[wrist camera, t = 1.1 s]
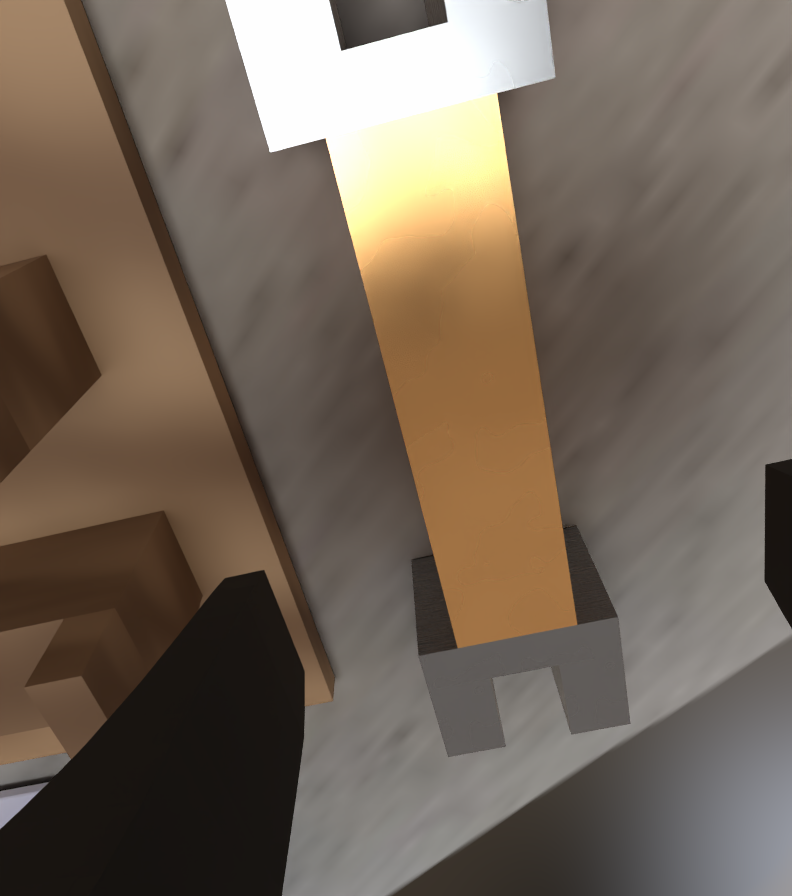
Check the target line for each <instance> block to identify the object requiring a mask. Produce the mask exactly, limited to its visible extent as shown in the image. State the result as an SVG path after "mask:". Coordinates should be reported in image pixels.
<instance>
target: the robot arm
mask: <svg viewBox="0 0 792 896" xmlns="http://www.w3.org/2000/svg"><path fill="white" fill-rule="evenodd" d="M765 583H766V584H767V586H768V588H769V590H770V591H771V593H772V595H773V597H774V599H775V600H776V602H777V604H778V606H779V607H780V609H781V611H782V613H783V615H784V616H785V618H786V620H787V621H788V623H789V624H790V626H791V628H792V459H790V460H785V461H781V462H776V463H771V464H766V467H765ZM304 717H305V670H304V668H303V665H302V663H301V660H300V658H299V655H298V653H297V650H296V648H295V645H294V643H293V640H292V638H291V635H290V633H289V630H288V628H287V625H286V623H285V620H284V618H283V615H282V613H281V610H280V608H279V605H278V603H277V600H276V598H275V595H274V593H273V590H272V588H271V585H270V583H269V580H268V578H267V575H266V573H265V570H261V571H256V572H251V573H246V574H242V575H237V576H232V577H227V578H224V580H223V581H222V582H221V583H220V584H219V585H218V586H217V587H216V589H215V590H214V591H213V592H212V593H211V595H210V596H209V597H208V598H207V600H206V601H205V602H204V603H203V605H202V606H201V607H200V608H199V610H198V611H197V612H196V613H195V615H194V616H193V617H192V619H191V620H190V621H189V622H188V624H187V625H186V626H185V627H184V629H183V630H182V631H181V632H180V634H179V635H178V636H177V638H176V639H175V640H174V641H173V642H172V644H171V645H170V646H169V647H168V649H167V650H166V651H165V652H164V654H163V655H162V656H161V657H160V659H159V660H158V661H157V662H156V664H155V665H154V666H153V667H152V668H151V670H150V671H149V672H148V673H147V675H146V676H145V677H144V678H143V680H142V681H141V682H140V683H139V684H138V685H137V687H136V688H135V689H134V690H133V691H132V692H131V693H130V695H129V696H128V697H127V698H126V699H125V700H124V701H123V703H122V704H121V705H120V706H119V707H118V708H117V709H116V710H115V712H114V713H113V714H112V715H111V716H110V717H109V718H108V720H107V721H106V722H105V723H104V724H103V725H102V726H101V728H100V729H99V730H98V731H97V732H96V733H95V734H94V736H93V737H92V738H91V739H90V740H89V741H88V742H87V743H86V744H85V746H84V747H83V748H82V749H81V750H80V751H79V752H78V753H77V754H76V755H75V756H74V757H73V758H72V759H71V760H70V761H69V762H68V763H67V764H66V765H65V767H64V768H63V769H62V770H61V771H60V772H59V773H58V774H57V775H56V776H55V777H54V778H53V779H52V780H51V781H50V782H46V783H41V784H36V785H31V786H25V787H20V788H15V789H9V790H4V791H0V896H282V890H283V883H284V876H285V869H286V862H287V855H288V848H289V841H290V834H291V827H292V820H293V813H294V806H295V799H296V792H297V785H298V778H299V770H300V763H301V756H302V748H303V740H304Z"/></svg>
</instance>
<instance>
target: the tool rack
mask: <svg viewBox="0 0 792 896" xmlns="http://www.w3.org/2000/svg"><path fill="white" fill-rule="evenodd" d="M261 570H265V573H266V575H267V578H268V580H269V583H270V585H271V588H272V590H273V593H274V595H275V598H276V600H277V603H278V605H279V608H280V610H281V613H282V615H283V618H284V620H285V623H286V625H287V628H288V630H289V633H290V635H291V638H292V640H293V643H294V645H295V648H296V650H297V653H298V655H299V658H300V660H301V663H302V665H303V668H304V670H305V706H310V705H315V704H320V703H326V702H331V701H333V695H334V681H335V677H334V674H333V672H332V669H331V666H330V664H329V661H328V658H327V656H326V653H325V650H324V648H323V645H322V642H321V640H320V637H319V634H318V632H317V629H316V626H315V624H314V621H313V618H312V616H311V613H310V610H309V608H308V605H307V602H306V600H305V597H304V594H303V592H302V589H301V586H300V584H299V581H298V578H297V576H296V573H295V570H294V568H293V565H292V562H291V560H290V557H289V554H288V552H287V549H286V546H285V544H284V541H283V538H282V536H281V533H280V530H279V528H278V525H277V522H276V520H275V517H274V514H273V512H272V509H271V506H270V504H269V501H268V498H267V496H266V493H265V490H264V488H263V485H262V482H261V480H260V477H259V474H258V472H257V469H256V466H255V464H254V461H253V458H252V456H251V453H250V450H249V448H248V445H247V442H246V440H245V437H244V434H243V432H242V429H241V426H240V424H239V421H238V418H237V416H236V413H235V410H234V408H233V405H232V402H231V400H230V397H229V394H228V392H227V389H226V386H225V384H224V381H223V378H222V376H221V373H220V370H219V368H218V365H217V362H216V360H215V357H214V354H213V352H212V349H211V346H210V344H209V341H208V338H207V336H206V333H205V330H204V328H203V325H202V322H201V320H200V317H199V314H198V312H197V309H196V306H195V304H194V301H193V298H192V296H191V293H190V290H189V288H188V285H187V282H186V280H185V277H184V274H183V272H182V269H181V266H180V264H179V261H178V258H177V256H176V253H175V250H174V248H173V245H172V242H171V240H170V237H169V234H168V232H167V229H166V226H165V224H164V221H163V218H162V216H161V213H160V210H159V208H158V205H157V202H156V200H155V197H154V194H153V192H152V189H151V186H150V184H149V181H148V178H147V176H146V173H145V170H144V168H143V165H142V162H141V160H140V157H139V154H138V151H137V149H136V146H135V143H134V141H133V138H132V135H131V133H130V130H129V127H128V125H127V122H126V119H125V117H124V114H123V111H122V109H121V106H120V103H119V101H118V98H117V95H116V93H115V90H114V87H113V85H112V82H111V79H110V77H109V74H108V71H107V69H106V66H105V63H104V61H103V58H102V55H101V53H100V50H99V47H98V45H97V42H96V39H95V37H94V34H93V31H92V29H91V26H90V23H89V21H88V18H87V15H86V13H85V10H84V7H83V5H82V2H81V0H0V765H3V764H8V763H14V762H19V761H24V760H29V759H34V758H40V757H45V756H50V755H55V754H60V753H66V752H67V754H68V755H69V757H70V758H71V759H72V758H73V757H74V756H75V755H76V754H77V753H78V752H79V751H80V750H81V749H82V748H83V747H84V746H85V744H86V743H87V742H88V741H89V740H90V739H91V738H92V737H93V736H94V734H95V733H96V732H97V731H98V730H99V729H100V728H101V726H102V725H103V724H104V723H105V722H106V721H107V720H108V718H109V717H110V716H111V715H112V714H113V713H114V712H115V710H116V709H117V708H118V707H119V706H120V705H121V704H122V703H123V701H124V700H125V699H126V698H127V697H128V696H129V695H130V693H131V692H132V691H133V690H134V689H135V688H136V687H137V685H138V684H139V683H140V682H141V681H142V680H143V678H144V677H145V676H146V675H147V673H148V672H149V671H150V670H151V668H152V667H153V666H154V665H155V664H156V662H157V661H158V660H159V659H160V657H161V656H162V655H163V654H164V652H165V651H166V650H167V649H168V647H169V646H170V645H171V644H172V642H173V641H174V640H175V639H176V638H177V636H178V635H179V634H180V632H181V631H182V630H183V629H184V627H185V626H186V625H187V624H188V622H189V621H190V620H191V619H192V617H193V616H194V615H195V613H196V612H197V611H198V610H199V608H200V607H201V606H202V605H203V603H204V602H205V601H206V600H207V598H208V597H209V596H210V595H211V593H212V592H213V591H214V590H215V589H216V587H217V586H218V585H219V584H220V583H221V582H222V581H223V580H224V578H227V577H232V576H237V575H242V574H246V573H251V572H256V571H261Z"/></svg>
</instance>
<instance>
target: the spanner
mask: <svg viewBox="0 0 792 896" xmlns="http://www.w3.org/2000/svg"><path fill="white" fill-rule="evenodd" d="M424 2H425V7H426V12H427V18H428V23H429V27H428V28H425V29H421V30H417V31H414V32H410V33H406V34H403V35H399V36H395V37H392V38H388V39H384V40H380V41H377V42H373V43H369V44H366V45H362V46H358V47H355V48H351V49H347V48H346V44H345V39H344V35H343V31H342V26H341V22H340V18H339V14H338V9H337V5H336V1H335V0H226V4H227V7H228V10H229V14H230V17H231V21H232V24H233V27H234V31H235V34H236V38H237V41H238V44H239V48H240V51H241V55H242V58H243V61H244V65H245V68H246V72H247V75H248V78H249V82H250V85H251V89H252V92H253V95H254V99H255V102H256V105H257V109H258V112H259V116H260V119H261V122H262V126H263V129H264V133H265V136H266V139H267V143H268V146H269V150H270V152H273V151H277V150H281V149H285V148H289V147H293V146H296V145H300V144H304V143H308V142H312V141H316V140H319V139H323V138H326V141H327V145H328V148H329V152H330V156H331V160H332V164H333V168H334V172H335V175H336V179H337V183H338V187H339V191H340V195H341V199H342V203H343V206H344V210H345V214H346V218H347V222H348V226H349V230H350V233H351V237H352V241H353V245H354V249H355V253H356V257H357V261H358V264H359V268H360V272H361V276H362V280H363V284H364V288H365V292H366V295H367V299H368V303H369V307H370V311H371V315H372V319H373V322H374V326H375V330H376V334H377V338H378V342H379V346H380V350H381V353H382V357H383V361H384V365H385V369H386V373H387V377H388V380H389V384H390V388H391V392H392V396H393V400H394V404H395V408H396V411H397V415H398V419H399V423H400V427H401V431H402V435H403V439H404V442H405V446H406V450H407V454H408V458H409V462H410V466H411V469H412V473H413V477H414V481H415V485H416V489H417V493H418V497H419V500H420V504H421V508H422V512H423V516H424V520H425V524H426V527H427V531H428V535H429V539H430V543H431V547H432V551H433V555H434V556H430V557H425V558H420V559H415V560H411V562H412V575H413V588H414V602H415V615H416V628H417V641H418V655H419V659H420V662H421V666H422V669H423V673H424V676H425V679H426V683H427V686H428V690H429V693H430V696H431V700H432V703H433V707H434V710H435V713H436V717H437V720H438V724H439V727H440V730H441V734H442V737H443V741H444V744H445V747H446V751H447V754H448V757H451V756H456V755H462V754H467V753H473V752H478V751H484V750H489V749H494V748H500V747H505V746H506V745H505V740H504V735H503V730H502V725H501V720H500V715H499V710H498V705H497V699H496V694H495V689H494V684H493V679H492V678H493V677H499V676H504V675H509V674H514V673H520V672H525V671H530V670H535V669H540V668H546V667H551V669H552V672H553V675H554V679H555V682H556V685H557V689H558V692H559V695H560V699H561V702H562V705H563V709H564V712H565V715H566V719H567V722H568V725H569V729H570V732H571V734H576V733H582V732H587V731H593V730H598V729H604V728H609V727H615V726H620V725H626V724H630V716H629V707H628V699H627V690H626V681H625V673H624V664H623V656H622V647H621V638H620V630H619V621H618V616H617V614H616V611H615V609H614V607H613V605H612V603H611V600H610V598H609V596H608V594H607V592H606V589H605V587H604V585H603V583H602V581H601V578H600V576H599V574H598V572H597V570H596V568H595V565H594V563H593V561H592V559H591V557H590V554H589V552H588V550H587V548H586V546H585V543H584V541H583V539H582V537H581V535H580V532H579V530H578V528H577V526H575V527H570V528H565V529H563V527H562V520H561V514H560V507H559V500H558V494H557V487H556V480H555V474H554V467H553V461H552V454H551V447H550V441H549V434H548V428H547V421H546V414H545V408H544V401H543V395H542V388H541V381H540V375H539V368H538V362H537V355H536V348H535V342H534V335H533V329H532V322H531V315H530V309H529V302H528V296H527V289H526V282H525V276H524V269H523V263H522V256H521V249H520V243H519V236H518V230H517V223H516V216H515V210H514V203H513V197H512V190H511V183H510V177H509V170H508V164H507V157H506V150H505V144H504V137H503V131H502V124H501V117H500V111H499V104H498V98H497V93H499V92H503V91H507V90H511V89H515V88H519V87H522V86H526V85H530V84H534V83H538V82H542V81H545V80H549V79H553V78H555V70H554V61H553V52H552V44H551V35H550V27H549V18H548V9H547V1H546V0H424Z"/></svg>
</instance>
